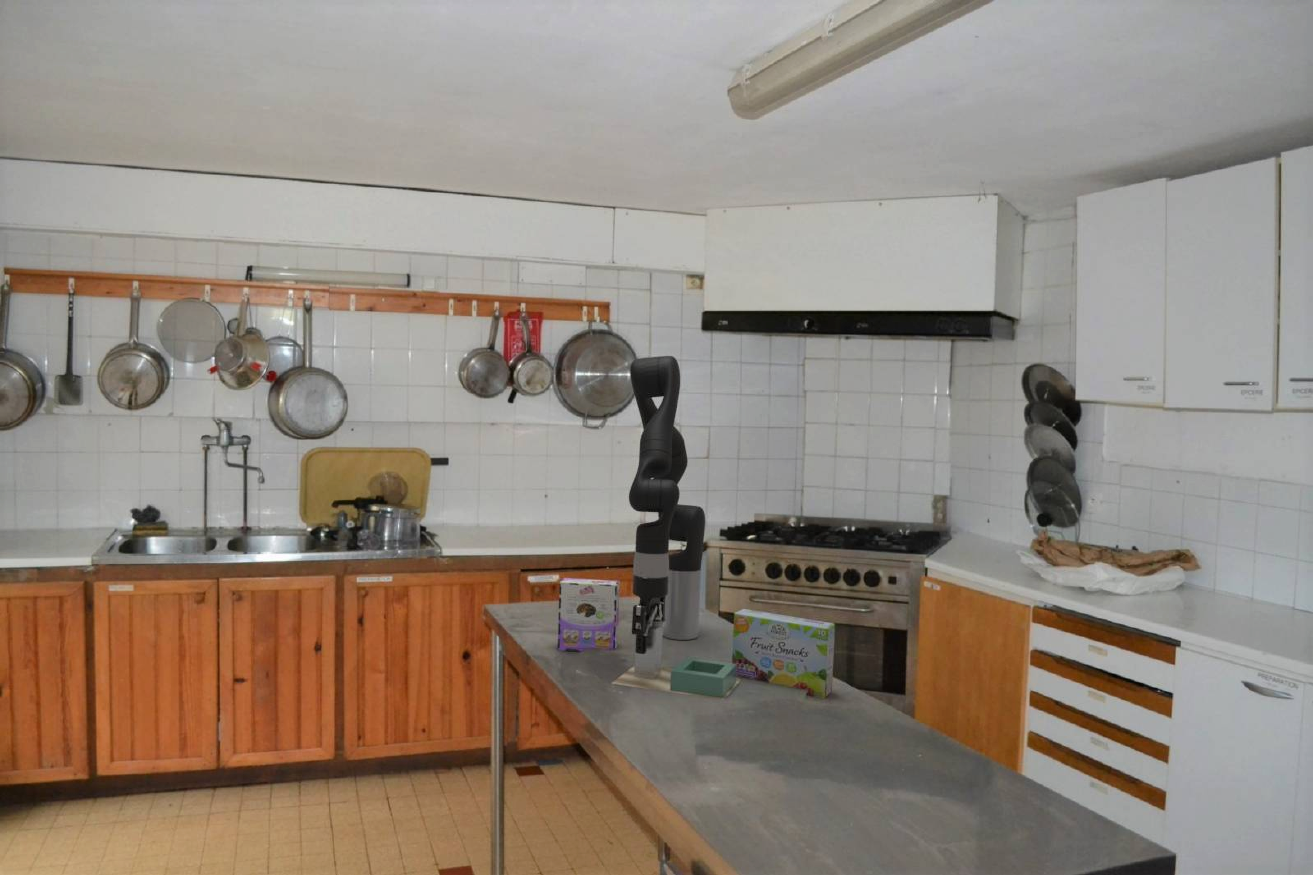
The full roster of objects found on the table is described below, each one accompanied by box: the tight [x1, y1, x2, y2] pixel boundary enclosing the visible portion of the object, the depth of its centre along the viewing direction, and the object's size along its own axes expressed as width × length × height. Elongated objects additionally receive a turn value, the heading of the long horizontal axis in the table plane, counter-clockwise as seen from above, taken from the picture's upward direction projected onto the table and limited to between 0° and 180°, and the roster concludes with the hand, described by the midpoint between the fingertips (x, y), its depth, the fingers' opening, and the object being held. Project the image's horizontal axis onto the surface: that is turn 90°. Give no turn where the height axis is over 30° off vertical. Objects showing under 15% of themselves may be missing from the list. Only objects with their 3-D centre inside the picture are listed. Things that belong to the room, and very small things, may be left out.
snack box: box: [731, 608, 836, 700], centre depth 205 cm, size 21×6×15 cm, turn 62°
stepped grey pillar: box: [633, 619, 666, 680], centre depth 205 cm, size 4×6×12 cm
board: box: [611, 665, 743, 701], centre depth 202 cm, size 15×24×1 cm, turn 71°
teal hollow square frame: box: [670, 656, 737, 698], centre depth 199 cm, size 11×11×4 cm
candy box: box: [557, 577, 620, 653], centre depth 228 cm, size 14×6×16 cm, turn 84°
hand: (647, 648), depth 205 cm, fingers open, 8 cm apart
